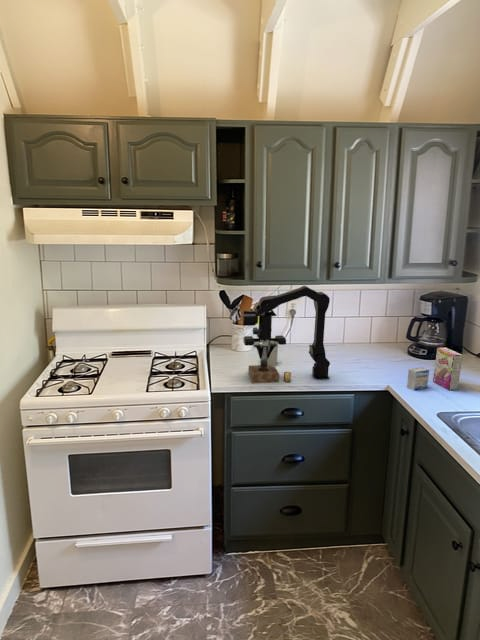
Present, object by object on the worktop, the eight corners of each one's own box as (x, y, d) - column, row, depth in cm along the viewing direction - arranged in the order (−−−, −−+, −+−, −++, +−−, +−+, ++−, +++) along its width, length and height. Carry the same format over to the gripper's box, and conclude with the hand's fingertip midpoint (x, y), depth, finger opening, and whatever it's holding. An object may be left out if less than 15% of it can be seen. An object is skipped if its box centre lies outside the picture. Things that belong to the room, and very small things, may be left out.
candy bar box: (432, 381, 216) (436, 347, 212) (441, 380, 218) (445, 346, 214) (448, 390, 206) (453, 355, 202) (458, 389, 207) (463, 354, 203)
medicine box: (413, 390, 205) (415, 372, 203) (406, 387, 209) (408, 368, 207) (427, 388, 208) (429, 369, 206) (420, 384, 212) (422, 366, 210)
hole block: (273, 372, 223) (273, 364, 222) (278, 382, 212) (279, 373, 211) (248, 373, 222) (248, 365, 221) (252, 383, 210) (252, 374, 209)
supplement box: (275, 366, 233) (276, 341, 230) (261, 364, 234) (261, 340, 231) (277, 361, 240) (278, 337, 237) (263, 360, 241) (264, 336, 238)
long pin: (266, 365, 217) (267, 344, 215) (267, 367, 214) (268, 346, 212) (259, 365, 217) (260, 344, 214) (261, 367, 214) (261, 346, 211)
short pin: (289, 379, 215) (290, 371, 214) (291, 382, 212) (291, 373, 211) (282, 379, 215) (283, 371, 214) (284, 382, 212) (284, 374, 211)
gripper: (281, 320, 220) (280, 352, 224) (241, 321, 217) (241, 353, 221) (287, 326, 209) (285, 360, 213) (245, 327, 206) (244, 361, 210)
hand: (264, 358), depth 214 cm, fingers closed on long pin, 3 cm apart
